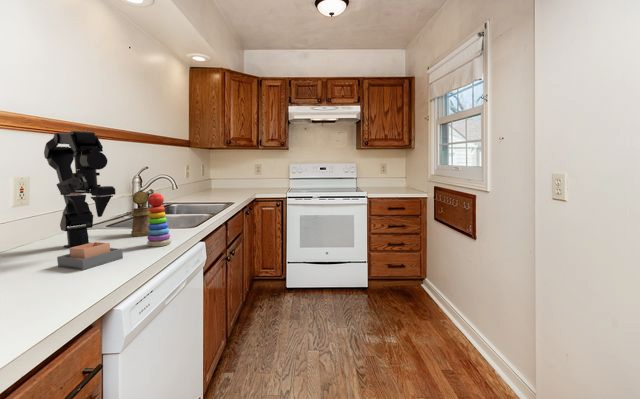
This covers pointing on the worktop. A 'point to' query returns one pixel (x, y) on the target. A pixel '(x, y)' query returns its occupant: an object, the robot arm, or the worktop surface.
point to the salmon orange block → (89, 250)
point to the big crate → (89, 260)
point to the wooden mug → (140, 215)
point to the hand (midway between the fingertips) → (90, 216)
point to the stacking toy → (157, 222)
